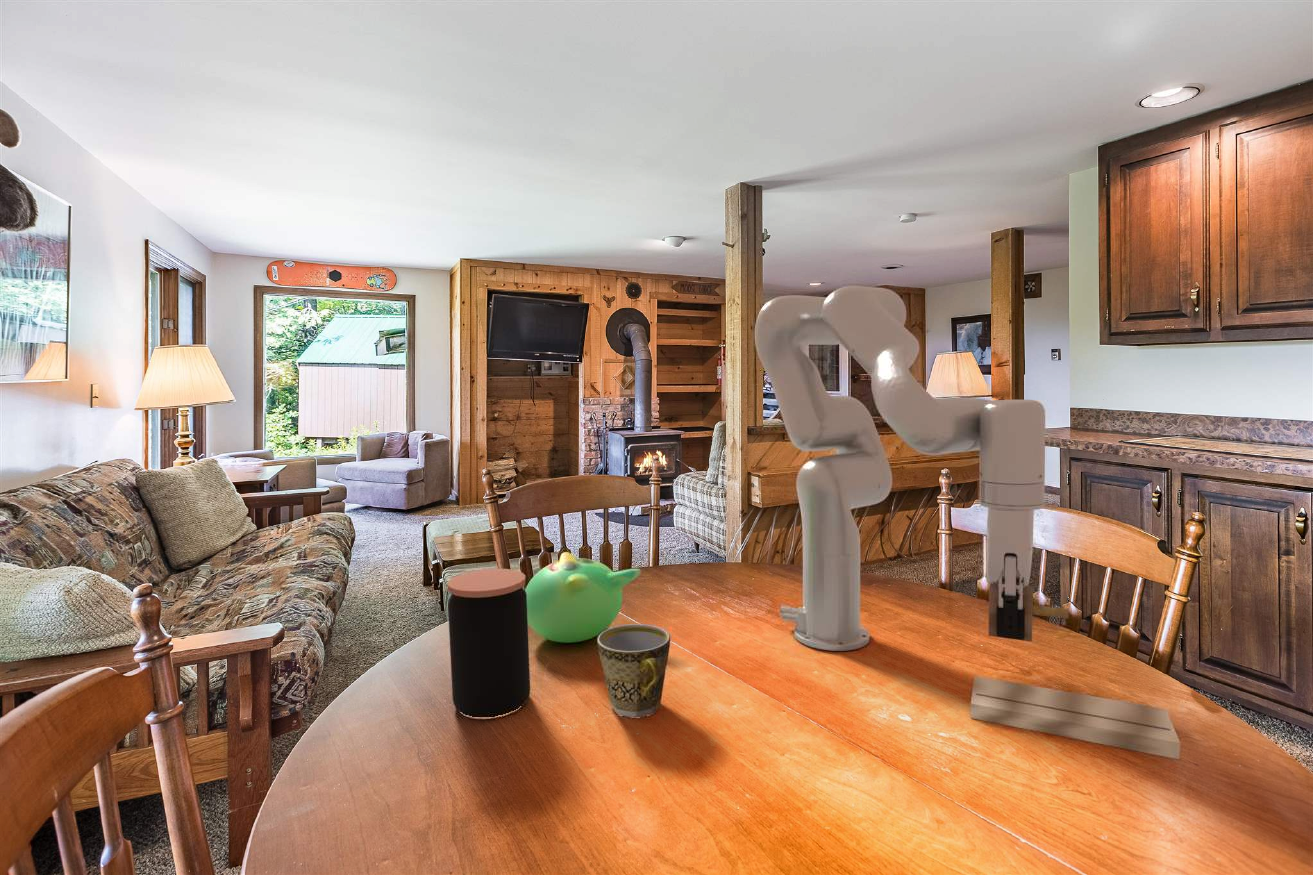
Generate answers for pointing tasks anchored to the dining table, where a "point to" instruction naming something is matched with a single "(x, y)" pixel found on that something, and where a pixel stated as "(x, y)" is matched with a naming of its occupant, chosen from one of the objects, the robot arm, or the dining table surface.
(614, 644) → the ceramic cup
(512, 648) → the coffee jar
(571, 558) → the plump green bird figurine
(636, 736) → the dining table surface
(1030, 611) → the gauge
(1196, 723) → the dining table surface
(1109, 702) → the board
